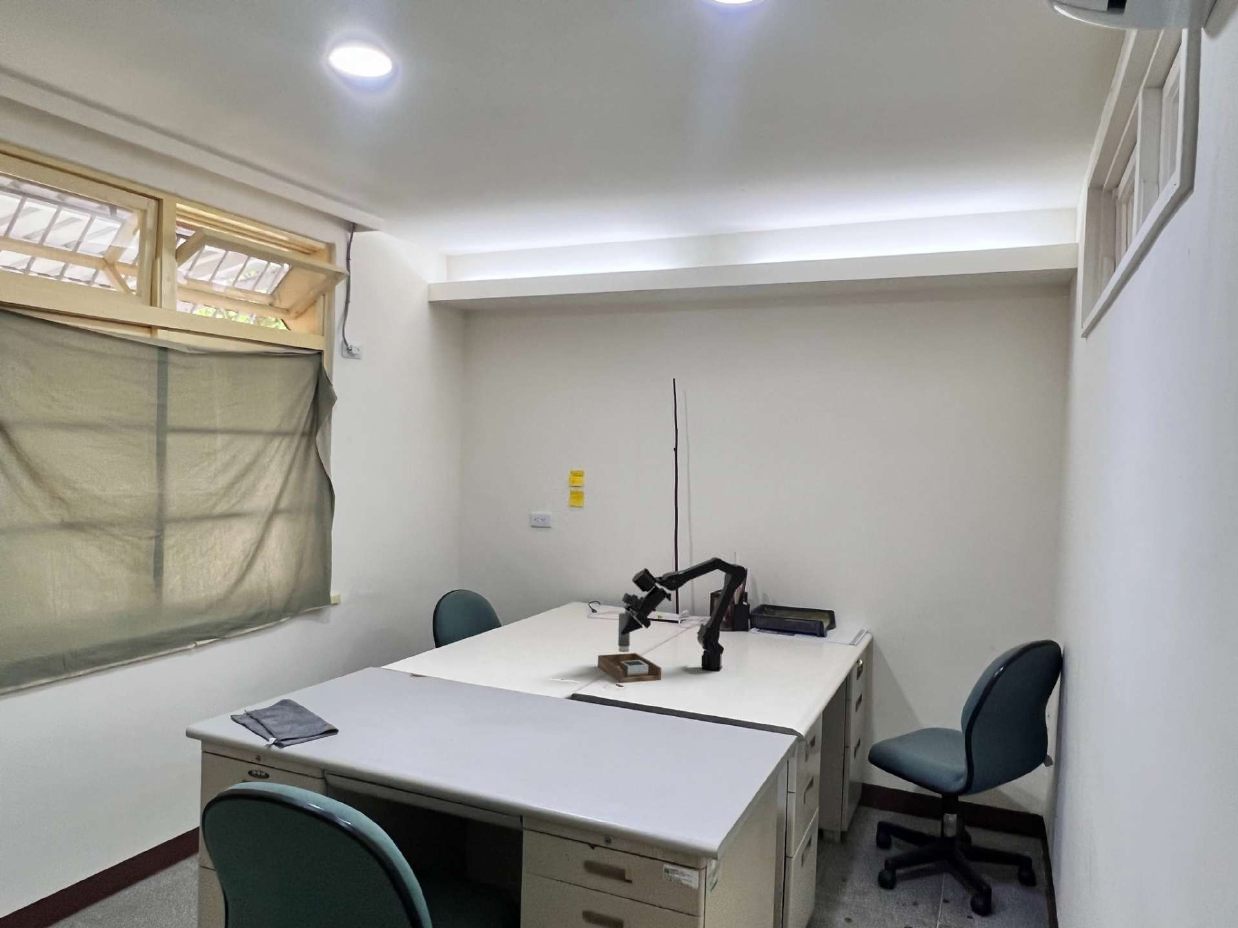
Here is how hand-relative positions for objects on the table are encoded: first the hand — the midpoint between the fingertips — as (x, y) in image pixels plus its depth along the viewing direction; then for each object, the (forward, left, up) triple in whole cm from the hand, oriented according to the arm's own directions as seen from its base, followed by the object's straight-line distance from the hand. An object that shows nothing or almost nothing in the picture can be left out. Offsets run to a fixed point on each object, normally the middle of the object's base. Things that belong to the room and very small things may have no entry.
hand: (620, 632), depth 292 cm
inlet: (-7, +7, -13) cm, 16 cm away
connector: (-1, -1, -6) cm, 7 cm away
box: (-4, +3, -13) cm, 14 cm away
